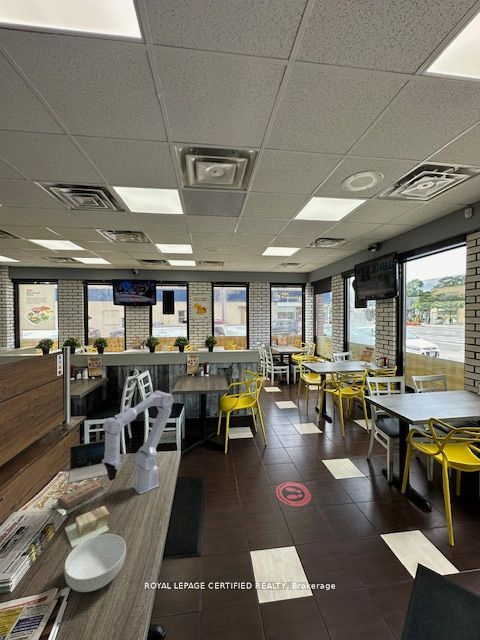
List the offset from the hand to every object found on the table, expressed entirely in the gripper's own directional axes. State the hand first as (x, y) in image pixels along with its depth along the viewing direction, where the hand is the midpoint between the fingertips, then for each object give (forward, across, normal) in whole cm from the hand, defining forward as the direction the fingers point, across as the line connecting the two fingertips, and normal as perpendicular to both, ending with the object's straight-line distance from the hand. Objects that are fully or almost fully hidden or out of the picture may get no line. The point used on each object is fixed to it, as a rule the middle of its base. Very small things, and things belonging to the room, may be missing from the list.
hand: (112, 479), depth 119 cm
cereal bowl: (+11, +32, -15) cm, 37 cm away
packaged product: (+11, -12, -9) cm, 19 cm away
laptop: (+11, -33, 0) cm, 34 cm away
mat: (+10, +9, -12) cm, 18 cm away
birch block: (+8, +9, -5) cm, 13 cm away
